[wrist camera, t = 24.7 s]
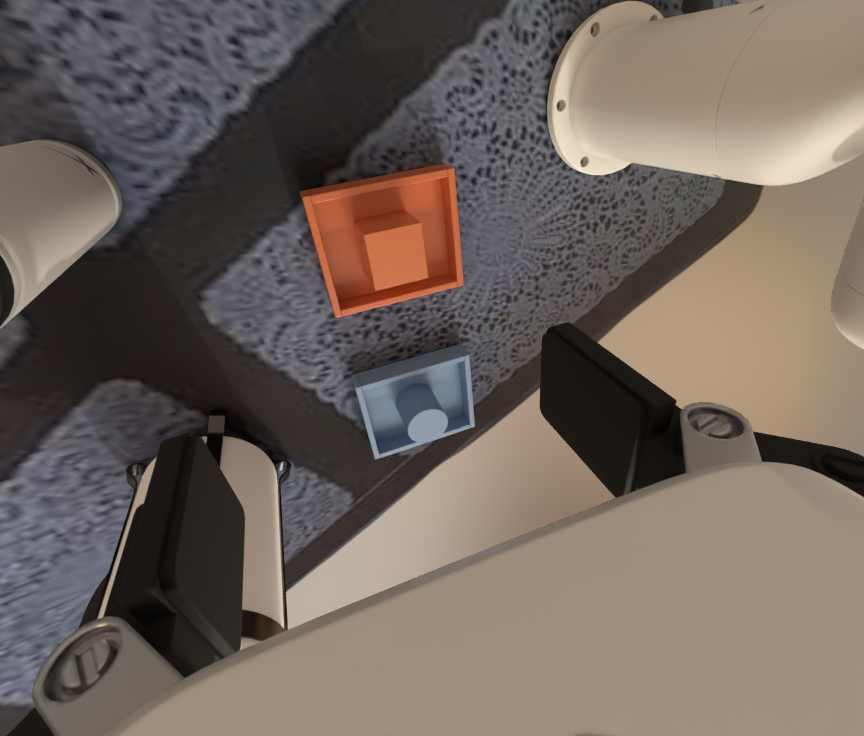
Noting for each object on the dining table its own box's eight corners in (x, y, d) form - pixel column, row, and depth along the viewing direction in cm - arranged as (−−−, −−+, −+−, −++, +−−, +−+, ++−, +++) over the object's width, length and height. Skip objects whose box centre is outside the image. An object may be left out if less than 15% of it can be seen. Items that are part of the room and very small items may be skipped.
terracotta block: (405, 209, 36) (421, 222, 33) (412, 260, 39) (428, 277, 35) (352, 220, 35) (363, 234, 32) (364, 272, 38) (375, 291, 34)
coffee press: (117, 399, 37) (-141, 946, 13) (303, 415, 44) (354, 789, 20) (111, 535, 44) (-65, 1053, 20) (272, 530, 51) (284, 908, 27)
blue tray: (460, 343, 46) (469, 354, 44) (466, 414, 52) (475, 426, 50) (350, 374, 44) (355, 388, 42) (370, 445, 49) (375, 459, 47)
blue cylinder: (430, 378, 47) (446, 403, 43) (435, 408, 49) (449, 435, 45) (392, 390, 46) (404, 416, 42) (398, 420, 48) (411, 448, 44)
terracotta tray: (443, 163, 36) (454, 167, 34) (454, 276, 42) (463, 285, 40) (299, 191, 33) (302, 197, 31) (331, 307, 39) (335, 318, 37)
